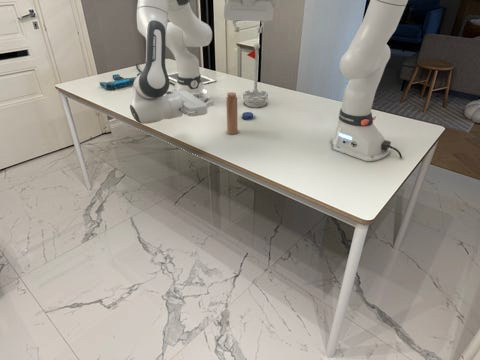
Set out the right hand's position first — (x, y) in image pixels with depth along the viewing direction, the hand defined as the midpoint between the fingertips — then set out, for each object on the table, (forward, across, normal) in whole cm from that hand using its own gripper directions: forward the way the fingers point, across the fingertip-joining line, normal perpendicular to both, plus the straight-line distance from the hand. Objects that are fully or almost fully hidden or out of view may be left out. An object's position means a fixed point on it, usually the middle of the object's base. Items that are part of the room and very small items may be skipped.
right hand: (248, 32), depth 142 cm
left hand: (+21, +14, +24) cm, 34 cm away
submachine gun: (+38, +80, -47) cm, 101 cm away
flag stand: (+38, -2, -19) cm, 43 cm away
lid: (+36, 0, 0) cm, 37 cm away
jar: (+38, +5, +17) cm, 42 cm away
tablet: (+38, +45, -58) cm, 82 cm away
